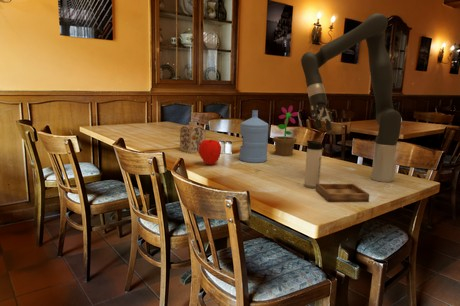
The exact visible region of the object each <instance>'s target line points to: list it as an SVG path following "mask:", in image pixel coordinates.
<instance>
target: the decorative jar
mask: <svg viewBox="0 0 460 306" xmlns="http://www.w3.org/2000/svg"><path fill="white" fill-rule="evenodd" d="M204 140H207V139H206V130H205V128H204V126H203V125H199V124H197V122H196V121H195V122H194V121H189V122H188V124H184V125H182V126H181V128H180V129H179V150H180V151H181V152H185V153H187V152H188V154H196V152H198V153H199V146H200V144H201V142H202V141H204Z"/></svg>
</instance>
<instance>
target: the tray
mask: <svg viewBox="0 0 460 306" xmlns="http://www.w3.org/2000/svg"><path fill="white" fill-rule="evenodd" d="M315 192H317V193H318V194H319V195H320V196H321V197H322V198H323V199H325V201H326V202H328V203H345V202H346V203H359V202H360V203H363V202H364V203H368V202H369V201H370V193H369V192H367V191H365V190H364V189H362V188H361V187H359V186H358V185H356V184H355V183H319V184H316V188H315Z"/></svg>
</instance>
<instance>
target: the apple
mask: <svg viewBox="0 0 460 306" xmlns="http://www.w3.org/2000/svg"><path fill="white" fill-rule="evenodd" d="M221 145H222V144H221V143H220V142H219V141H218V140H216V139H205V140H204V141H202V142H201V144H200V146H199V152H198V154H199V157H200V158H201V160H202V161H203V162H204V163H205V164H206V165H208V166H209V165H211V166H213V164H214V165H215V164H216V163H217V162H218V161H219V158H221V157H220V156H221V154H222V146H221Z"/></svg>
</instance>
